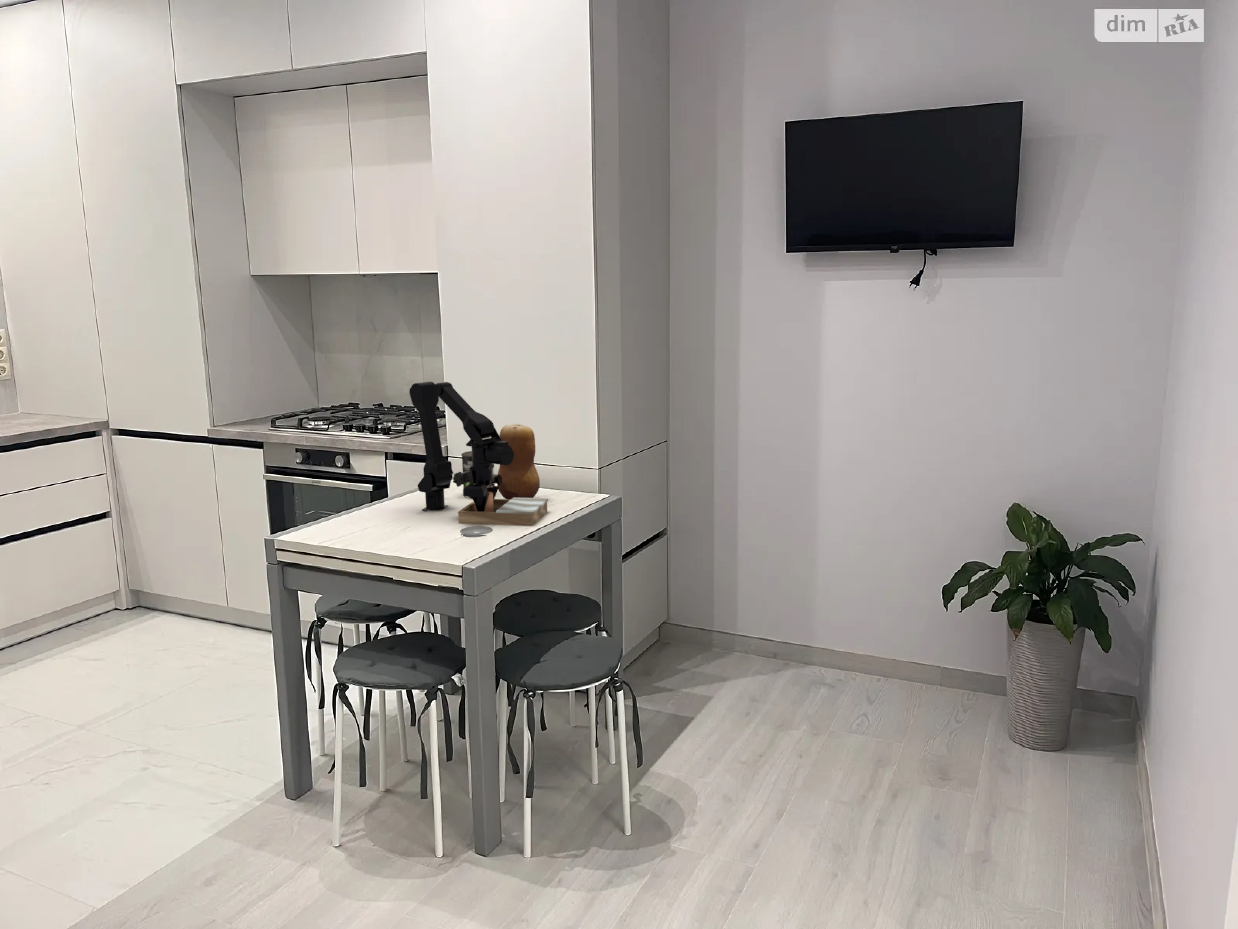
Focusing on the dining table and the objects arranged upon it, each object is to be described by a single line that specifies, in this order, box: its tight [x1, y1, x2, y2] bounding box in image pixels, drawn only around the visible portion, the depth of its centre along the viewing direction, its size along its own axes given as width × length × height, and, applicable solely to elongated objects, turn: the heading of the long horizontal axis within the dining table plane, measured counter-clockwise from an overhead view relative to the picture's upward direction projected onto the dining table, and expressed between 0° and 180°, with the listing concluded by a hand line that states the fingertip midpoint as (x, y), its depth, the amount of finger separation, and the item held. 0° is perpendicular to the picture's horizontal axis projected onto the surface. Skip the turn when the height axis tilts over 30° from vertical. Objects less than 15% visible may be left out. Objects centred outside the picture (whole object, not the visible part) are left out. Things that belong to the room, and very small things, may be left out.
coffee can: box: [461, 450, 495, 499], centre depth 312 cm, size 10×10×14 cm
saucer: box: [459, 525, 493, 538], centre depth 266 cm, size 9×9×1 cm
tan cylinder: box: [474, 492, 494, 512], centre depth 281 cm, size 6×6×7 cm
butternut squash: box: [496, 423, 541, 499], centre depth 300 cm, size 14×13×25 cm
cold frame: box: [457, 497, 550, 527], centre depth 281 cm, size 17×22×5 cm
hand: (484, 513), depth 282 cm, fingers open, 6 cm apart
